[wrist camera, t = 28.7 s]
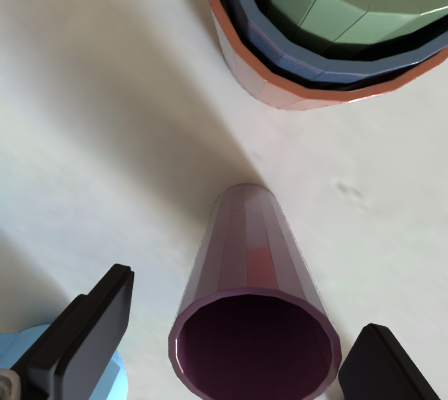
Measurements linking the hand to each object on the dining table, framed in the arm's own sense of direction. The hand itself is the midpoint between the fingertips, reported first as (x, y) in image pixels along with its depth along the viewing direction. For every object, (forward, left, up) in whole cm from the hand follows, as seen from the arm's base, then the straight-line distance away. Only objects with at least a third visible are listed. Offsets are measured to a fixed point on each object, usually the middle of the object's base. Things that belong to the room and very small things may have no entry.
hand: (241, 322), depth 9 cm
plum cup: (0, 0, -11) cm, 11 cm away
